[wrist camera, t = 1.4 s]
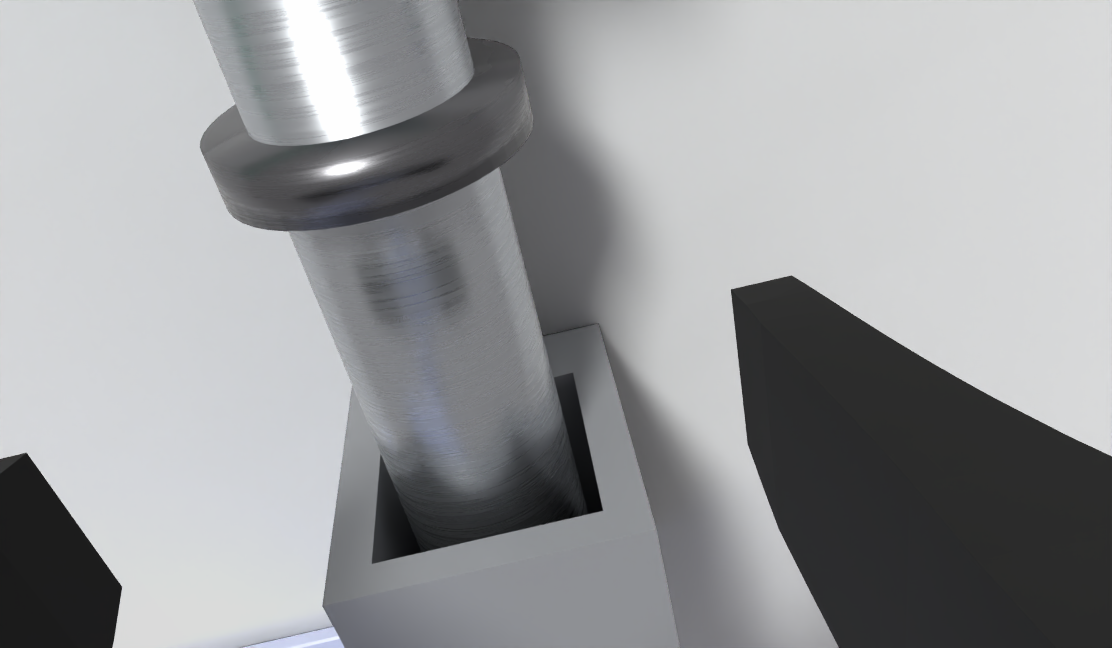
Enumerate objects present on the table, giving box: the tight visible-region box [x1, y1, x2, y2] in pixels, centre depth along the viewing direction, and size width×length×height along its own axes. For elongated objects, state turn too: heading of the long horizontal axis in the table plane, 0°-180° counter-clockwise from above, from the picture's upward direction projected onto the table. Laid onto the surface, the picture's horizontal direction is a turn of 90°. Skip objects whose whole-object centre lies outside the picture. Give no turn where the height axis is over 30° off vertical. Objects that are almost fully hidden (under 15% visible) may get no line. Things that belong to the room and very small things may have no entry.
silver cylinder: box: [193, 0, 588, 552], centre depth 14 cm, size 15×4×4 cm, turn 11°
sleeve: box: [323, 324, 680, 648], centre depth 17 cm, size 6×5×6 cm
